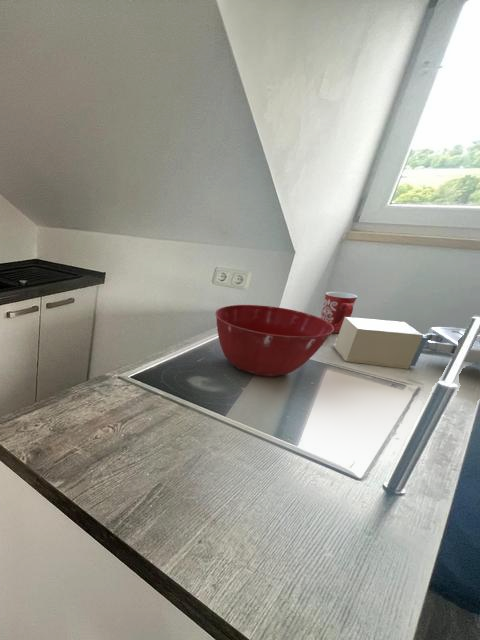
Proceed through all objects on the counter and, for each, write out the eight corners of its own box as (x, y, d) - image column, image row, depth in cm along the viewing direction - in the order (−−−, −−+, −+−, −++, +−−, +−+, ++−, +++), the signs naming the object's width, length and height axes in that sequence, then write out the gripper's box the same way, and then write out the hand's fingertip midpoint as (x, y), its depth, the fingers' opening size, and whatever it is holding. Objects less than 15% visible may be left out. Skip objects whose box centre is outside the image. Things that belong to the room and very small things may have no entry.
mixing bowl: (341, 378, 109) (360, 326, 103) (267, 397, 100) (284, 341, 94) (250, 344, 133) (262, 300, 127) (185, 357, 125) (194, 311, 118)
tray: (417, 354, 120) (429, 327, 117) (436, 368, 111) (450, 340, 108) (344, 346, 128) (354, 320, 124) (356, 359, 118) (366, 332, 115)
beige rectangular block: (390, 353, 124) (404, 321, 119) (408, 368, 113) (423, 335, 109) (334, 347, 130) (344, 316, 125) (345, 361, 119) (357, 328, 115)
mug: (310, 325, 150) (321, 291, 144) (338, 327, 147) (350, 292, 142) (324, 336, 139) (336, 299, 133) (354, 338, 136) (368, 301, 131)
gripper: (505, 371, 102) (434, 363, 107) (462, 345, 119) (402, 339, 124) (518, 349, 99) (444, 342, 105) (471, 325, 116) (410, 320, 122)
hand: (421, 340), depth 115 cm, fingers closed on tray, 5 cm apart
